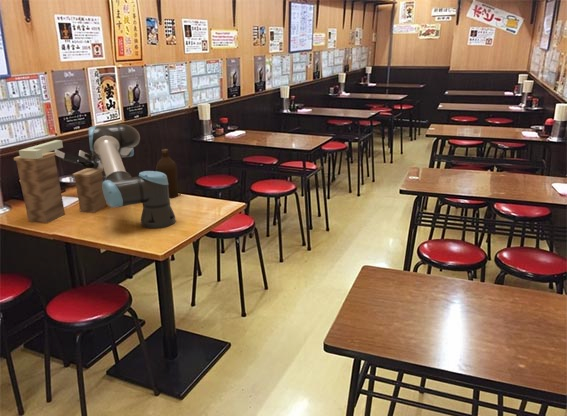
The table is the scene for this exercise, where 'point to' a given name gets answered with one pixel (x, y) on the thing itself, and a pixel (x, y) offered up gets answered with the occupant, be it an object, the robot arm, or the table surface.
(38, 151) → the crook
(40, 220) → the tall wooden block
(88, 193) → the short wooden block stack
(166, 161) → the olive oil
